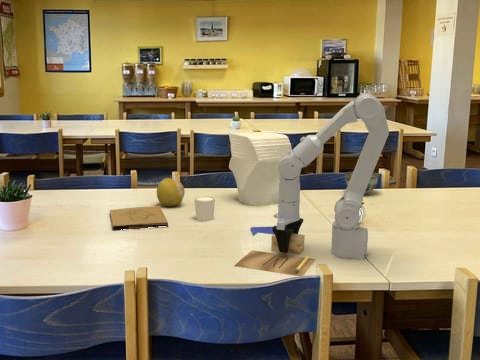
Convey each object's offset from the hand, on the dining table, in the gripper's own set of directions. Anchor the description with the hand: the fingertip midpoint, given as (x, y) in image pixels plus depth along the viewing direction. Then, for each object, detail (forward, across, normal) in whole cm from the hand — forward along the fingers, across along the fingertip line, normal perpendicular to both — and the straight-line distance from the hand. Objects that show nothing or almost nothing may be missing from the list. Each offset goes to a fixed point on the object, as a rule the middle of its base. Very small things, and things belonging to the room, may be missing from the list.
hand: (287, 248), depth 151 cm
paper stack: (+2, -54, -25) cm, 59 cm away
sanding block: (+2, 0, 0) cm, 2 cm away
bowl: (+2, -80, +6) cm, 81 cm away
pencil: (0, +10, +7) cm, 12 cm away
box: (+3, -12, -56) cm, 57 cm away
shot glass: (+2, -22, -36) cm, 42 cm away
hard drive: (+3, -14, -11) cm, 18 cm away
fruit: (+2, -34, -55) cm, 64 cm away
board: (+2, +10, 0) cm, 11 cm away
